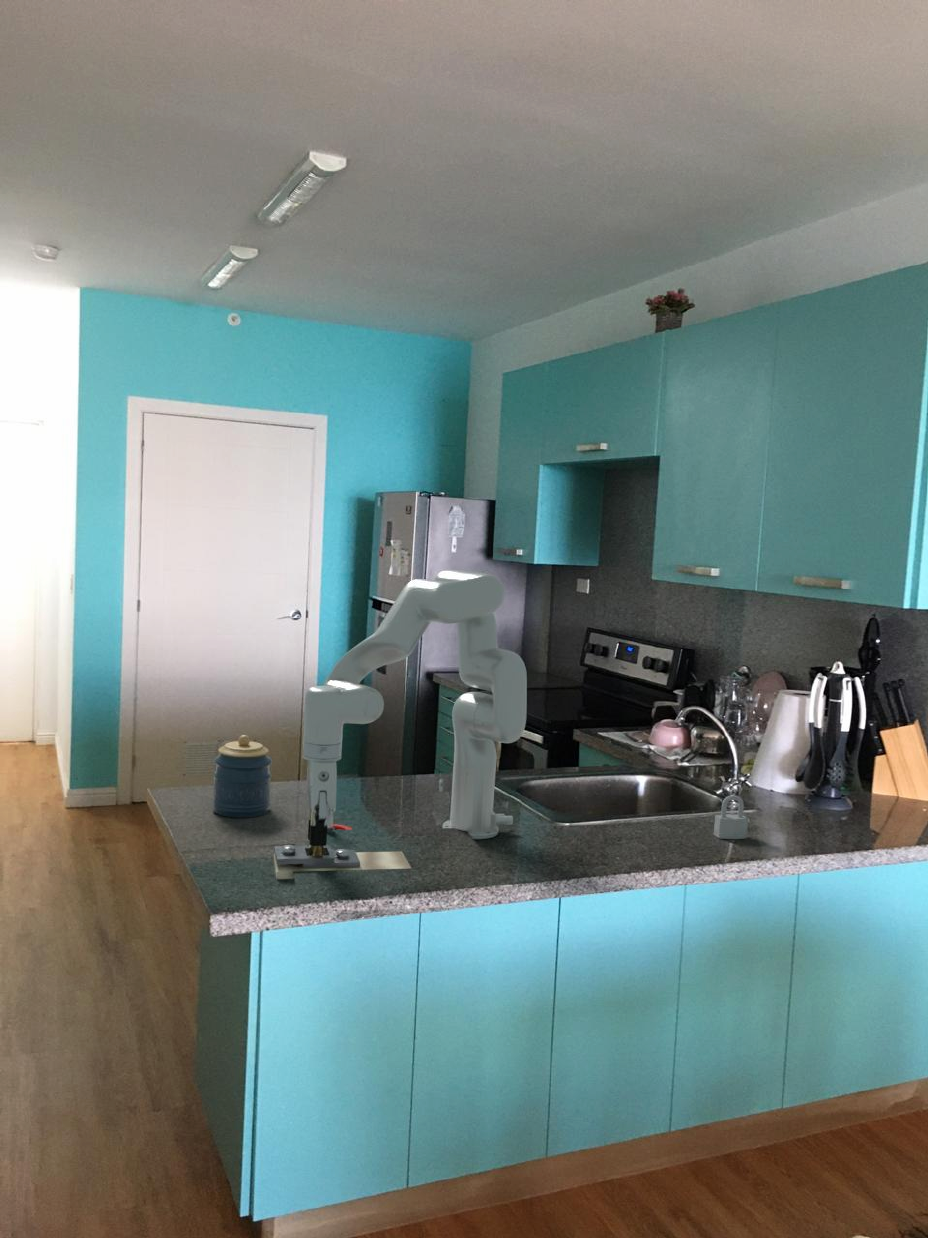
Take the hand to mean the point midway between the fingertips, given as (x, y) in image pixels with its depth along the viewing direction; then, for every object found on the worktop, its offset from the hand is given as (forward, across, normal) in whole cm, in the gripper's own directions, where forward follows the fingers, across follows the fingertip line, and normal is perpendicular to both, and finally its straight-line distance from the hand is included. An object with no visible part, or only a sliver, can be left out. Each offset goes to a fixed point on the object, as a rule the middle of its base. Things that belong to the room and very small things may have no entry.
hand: (316, 841), depth 202 cm
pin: (+3, 0, 0) cm, 3 cm away
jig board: (+6, 0, -5) cm, 8 cm away
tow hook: (+6, +22, -6) cm, 24 cm away
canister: (+6, +40, +13) cm, 42 cm away
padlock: (+5, +15, -98) cm, 99 cm away
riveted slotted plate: (+4, 0, 0) cm, 4 cm away
